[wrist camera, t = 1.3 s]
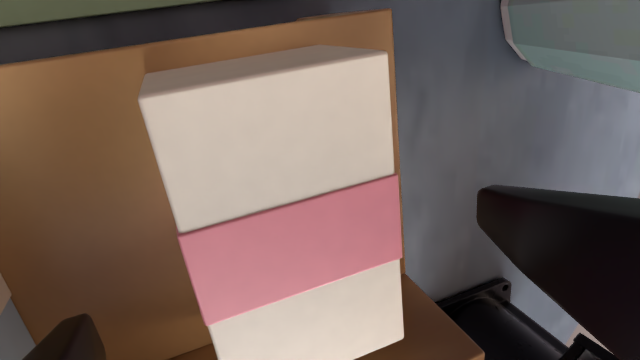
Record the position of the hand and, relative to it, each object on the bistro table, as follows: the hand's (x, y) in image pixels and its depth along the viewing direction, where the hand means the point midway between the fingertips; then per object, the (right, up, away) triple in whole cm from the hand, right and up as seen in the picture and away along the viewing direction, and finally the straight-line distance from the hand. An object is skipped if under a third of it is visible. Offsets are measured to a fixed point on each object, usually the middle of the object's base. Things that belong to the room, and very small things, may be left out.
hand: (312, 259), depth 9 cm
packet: (-2, +2, +4) cm, 4 cm away
